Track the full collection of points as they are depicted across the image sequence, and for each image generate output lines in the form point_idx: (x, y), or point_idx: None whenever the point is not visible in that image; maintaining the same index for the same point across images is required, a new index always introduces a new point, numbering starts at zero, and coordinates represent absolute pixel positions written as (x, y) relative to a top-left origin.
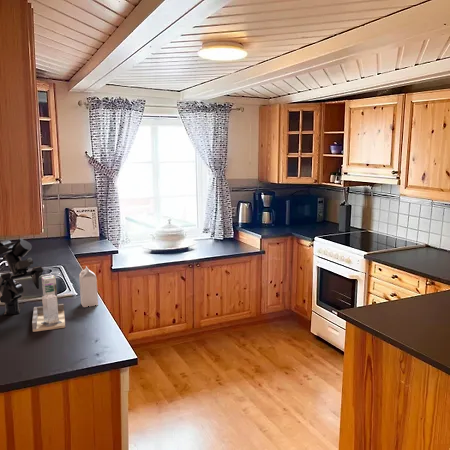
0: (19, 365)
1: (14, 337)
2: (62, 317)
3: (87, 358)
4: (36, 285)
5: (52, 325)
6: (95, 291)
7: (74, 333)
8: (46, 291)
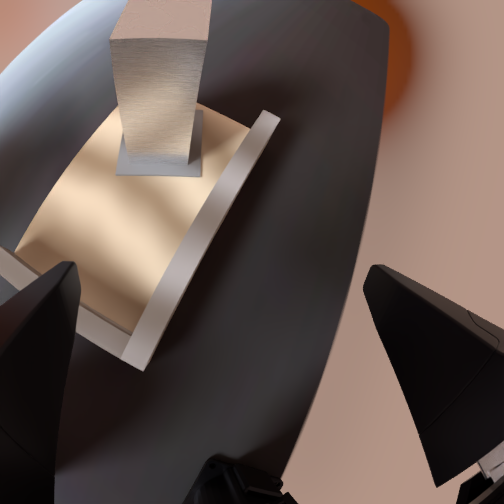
0: (362, 33)
1: (342, 159)
2: (80, 163)
3: None
4: (60, 324)
5: None
6: None
7: None
8: None
